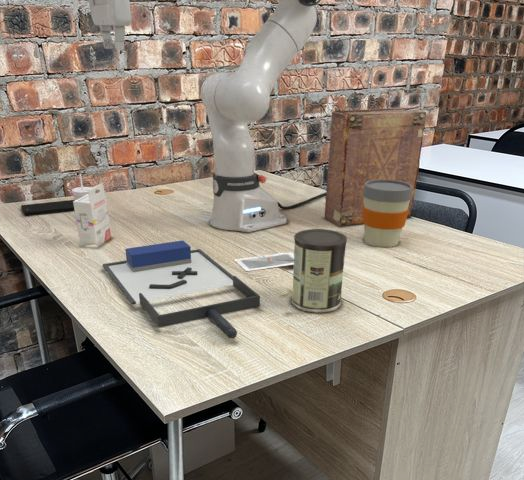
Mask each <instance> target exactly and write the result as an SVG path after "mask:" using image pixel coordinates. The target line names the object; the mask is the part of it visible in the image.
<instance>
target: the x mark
mask: <svg viewBox="0 0 524 480" xmlns="http://www.w3.org/2000/svg"><path fill="white" fill-rule="evenodd" d="M191 270H192V268H186V269H185V270H184V271H172V275H178V276H177V277H178V279H182V278H184V277H185V276H186V275H197V271H191Z"/></svg>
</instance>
